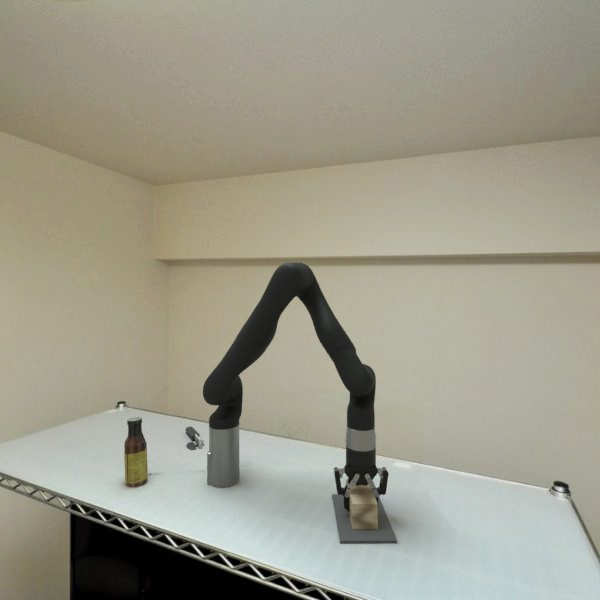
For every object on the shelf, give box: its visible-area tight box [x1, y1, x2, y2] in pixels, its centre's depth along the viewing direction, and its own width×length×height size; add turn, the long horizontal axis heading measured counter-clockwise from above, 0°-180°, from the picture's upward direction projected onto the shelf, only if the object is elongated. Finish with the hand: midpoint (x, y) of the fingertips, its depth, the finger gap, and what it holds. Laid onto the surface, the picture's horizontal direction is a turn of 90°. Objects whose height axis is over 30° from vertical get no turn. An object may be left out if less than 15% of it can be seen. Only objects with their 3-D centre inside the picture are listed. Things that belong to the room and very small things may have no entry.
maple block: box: [345, 478, 378, 529], centre depth 92 cm, size 6×12×6 cm, turn 0°
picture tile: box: [331, 493, 398, 545], centre depth 92 cm, size 13×20×1 cm, turn 0°
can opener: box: [185, 426, 205, 451], centre depth 139 cm, size 19×6×5 cm, turn 27°
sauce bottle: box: [123, 416, 149, 488], centre depth 109 cm, size 7×6×20 cm
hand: (360, 509), depth 92 cm, fingers closed on maple block, 6 cm apart
